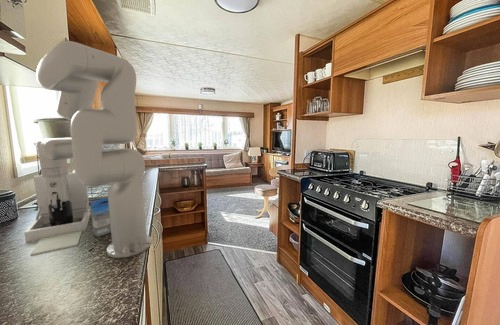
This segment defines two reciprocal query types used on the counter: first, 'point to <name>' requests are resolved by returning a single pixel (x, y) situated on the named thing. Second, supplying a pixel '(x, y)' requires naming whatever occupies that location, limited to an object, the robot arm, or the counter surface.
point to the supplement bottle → (67, 211)
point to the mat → (57, 243)
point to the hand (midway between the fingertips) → (61, 217)
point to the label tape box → (100, 217)
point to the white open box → (35, 231)
